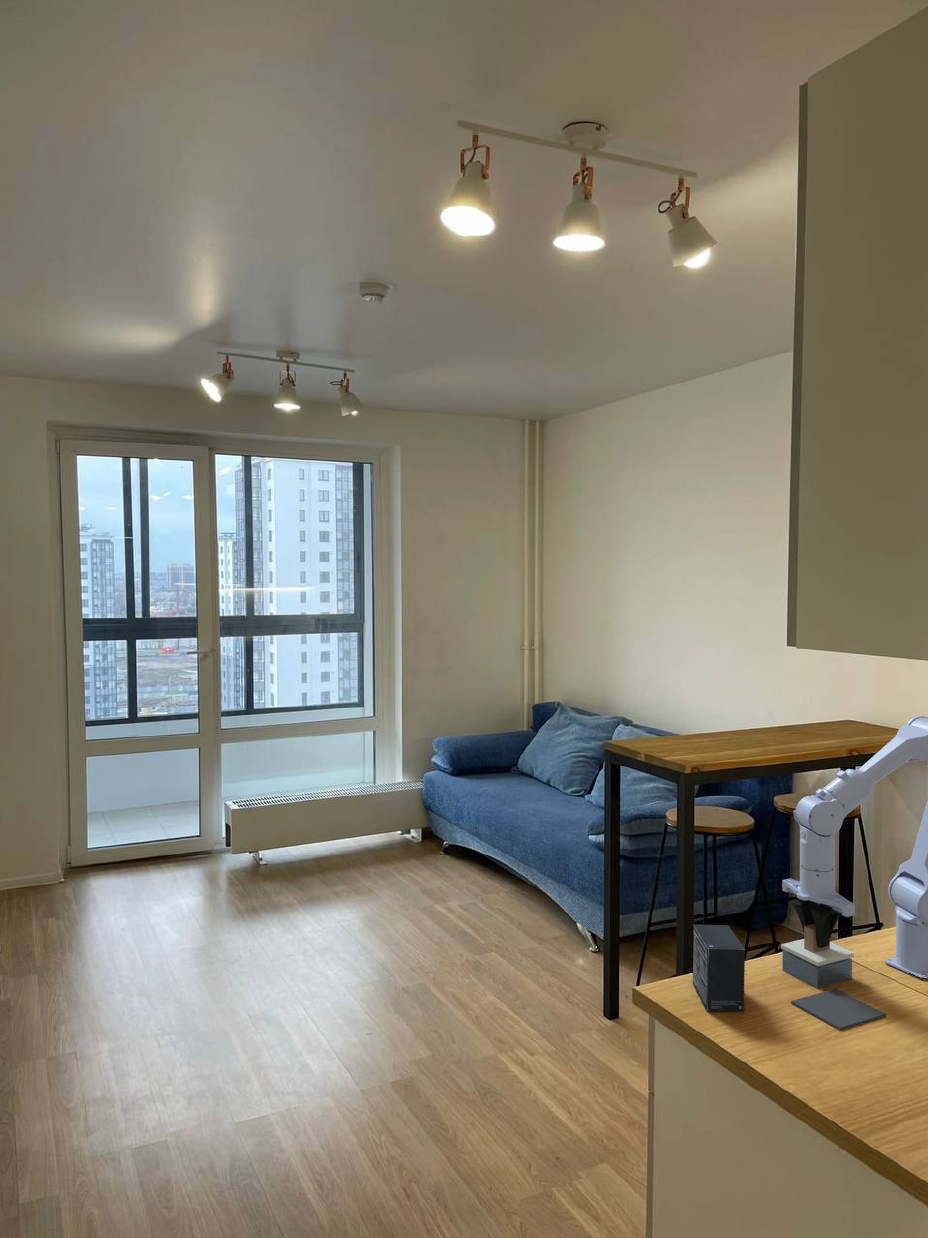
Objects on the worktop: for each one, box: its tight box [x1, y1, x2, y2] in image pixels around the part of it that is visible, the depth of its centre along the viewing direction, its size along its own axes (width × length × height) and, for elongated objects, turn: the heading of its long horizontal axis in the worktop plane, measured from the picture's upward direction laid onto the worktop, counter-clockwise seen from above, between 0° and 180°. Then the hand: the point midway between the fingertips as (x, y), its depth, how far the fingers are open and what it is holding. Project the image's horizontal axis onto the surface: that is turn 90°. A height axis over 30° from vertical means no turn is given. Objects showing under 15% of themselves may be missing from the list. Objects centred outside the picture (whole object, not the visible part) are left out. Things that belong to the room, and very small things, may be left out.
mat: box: [790, 988, 887, 1031], centre depth 148 cm, size 10×10×1 cm
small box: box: [692, 924, 746, 1013], centre depth 152 cm, size 11×6×10 cm, turn 179°
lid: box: [780, 924, 855, 966], centre depth 160 cm, size 8×8×5 cm
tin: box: [781, 950, 853, 989], centre depth 161 cm, size 8×8×4 cm
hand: (817, 943), depth 160 cm, fingers closed on lid
